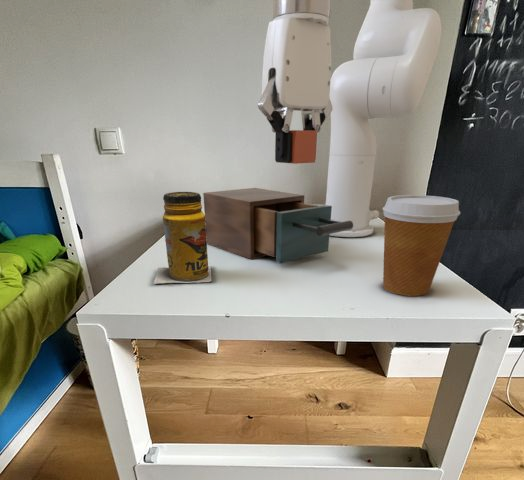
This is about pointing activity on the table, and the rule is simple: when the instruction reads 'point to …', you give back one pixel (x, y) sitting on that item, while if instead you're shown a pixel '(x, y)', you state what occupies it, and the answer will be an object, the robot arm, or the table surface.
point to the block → (303, 146)
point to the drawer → (294, 229)
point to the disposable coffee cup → (415, 240)
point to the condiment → (184, 240)
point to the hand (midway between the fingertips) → (295, 160)
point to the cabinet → (238, 217)
